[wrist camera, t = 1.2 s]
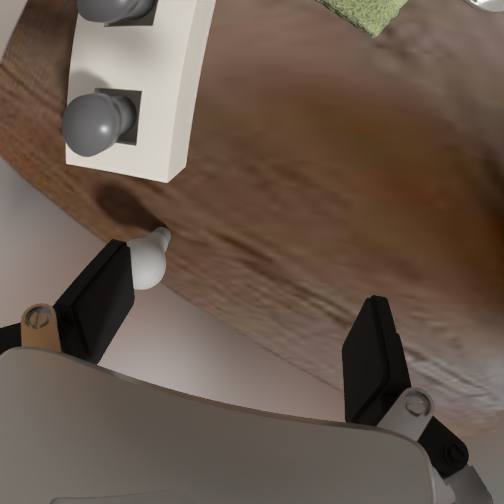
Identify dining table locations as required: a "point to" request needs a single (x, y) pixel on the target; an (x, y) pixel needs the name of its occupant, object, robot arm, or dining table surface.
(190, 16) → the box
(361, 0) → the washcloth
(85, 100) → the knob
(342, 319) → the dining table surface
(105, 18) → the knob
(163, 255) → the lightbulb
